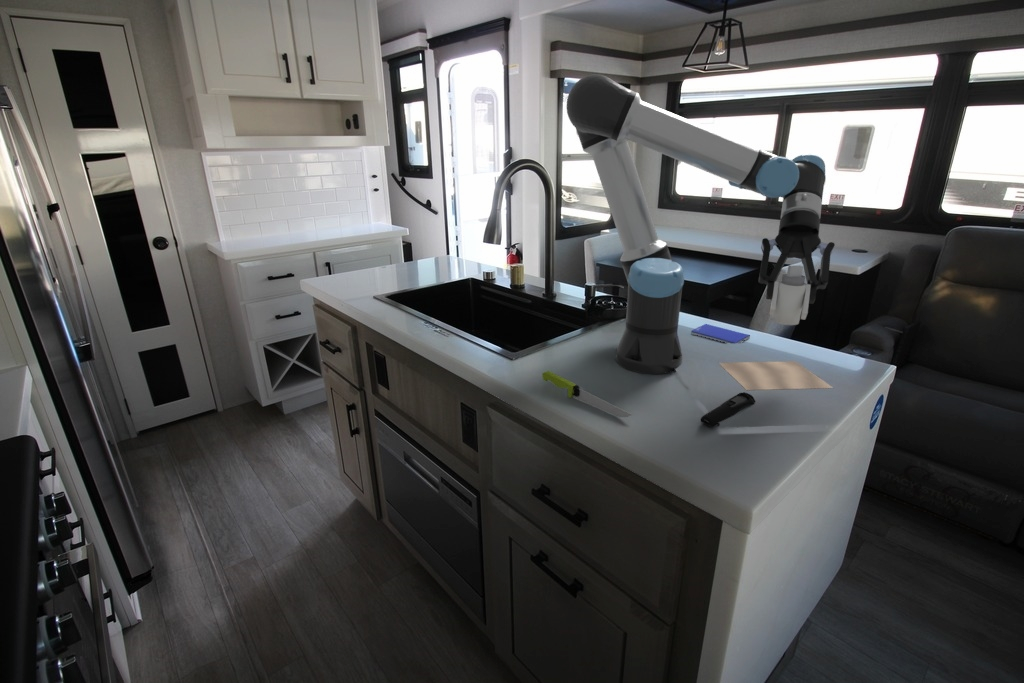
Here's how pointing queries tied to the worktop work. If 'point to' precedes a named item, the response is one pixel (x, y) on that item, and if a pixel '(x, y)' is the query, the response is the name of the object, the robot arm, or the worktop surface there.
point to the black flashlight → (727, 409)
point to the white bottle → (790, 297)
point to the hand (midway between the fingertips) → (788, 314)
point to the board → (773, 375)
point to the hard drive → (720, 334)
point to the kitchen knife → (583, 395)
